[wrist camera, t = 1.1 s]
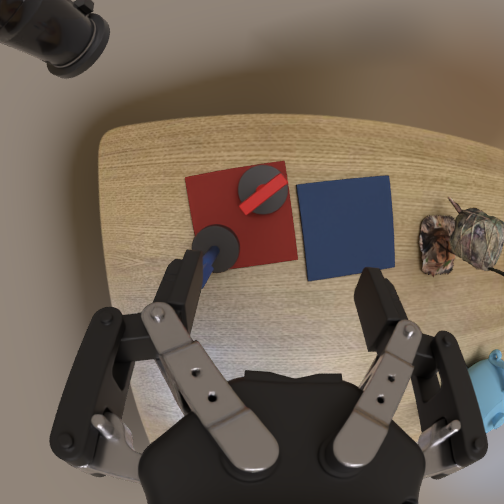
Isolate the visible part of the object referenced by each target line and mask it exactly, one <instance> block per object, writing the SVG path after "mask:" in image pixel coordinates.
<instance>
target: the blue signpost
mask: <svg viewBox="0 0 504 504" xmlns="http://www.w3.org/2000/svg"><path fill="white" fill-rule="evenodd" d="M192 250H197V251H202V254H203V284H202V289H203V288H204V286H205V284H206V282H207V280H208V278H209V277H210V275H211V273H212V272H213V273H220V272H224V271H226V270H228V269H230V268H231V267H232V266H233V265H234V264H235V262H236V261H237V259H238V256H239V252H240V242H239V239H238V237H237V235H236V234H235V232H234V231H233V230H231V229H230V228H229V227H227V226H225V225H221V224H212V225H209V226H207V227H205V228H203V229H202V230H201V231H200V232H198V233H197V235H196V236H195V238H194V240H193V243H192Z"/></svg>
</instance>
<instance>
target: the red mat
mask: <svg viewBox="0 0 504 504" xmlns="http://www.w3.org/2000/svg"><path fill="white" fill-rule="evenodd" d="M258 165H269V166H272V167H274V168H276V169H278V170H279V171H280V172H281V173H282V174H283V175H284V177H285V179H286V180H287V174H286V167H285V161H279V162H272V163H264V164H258ZM254 166H257V165H251V166H245V167H238V168H232V169H226V170H221V171H215V172H210V173H204V174H199V175H194V176H189V177H185V182H186V188H187V194H188V200H189V206H190V211H191V217H192V223H193V228H194V233H195V236H196V235H197V233H198V232H200V231H201V230H202V229H203V228H205V227H207V226H209V225H212V224H221V225H225V226H227V227H229V228H230V229H231V230H233V231H234V232H235V234H236V235H237V237H238V239H239V242H240V252H239V256H238V259H237V261H236V262H235V264H234V265H233V266H232V267H231V268H230V269H234V268H241V267H249V266H256V265H263V264H270V263H277V262H284V261H291V260H298V255H297V247H296V239H295V231H294V223H293V216H292V208H291V201H290V194H289V187H288V195H287V198H286V201H285V202H284V204H283V205H282V206H281V207H280V208H279V209H278V210H277V211H275V212H273V213H270V214H256V213H253V212H251V213H249V214H248V215H245V214H244V213H243V212H242V211H241V209H240V208H239V205H240V204H241V203H242V202H241V200H240V198H239V195H238V184H239V181H240V179H241V177H242V175H243V174H244V173H245V172H246V171H247V170H248V169H250V168H252V167H254ZM287 181H288V180H287ZM287 185H288V184H287Z"/></svg>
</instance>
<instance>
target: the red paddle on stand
mask: <svg viewBox="0 0 504 504" xmlns="http://www.w3.org/2000/svg"><path fill="white" fill-rule="evenodd" d="M287 184H288V181H287V180H286V179H285V177H284V175H283V174H282V173H281V172H280V171H279V170H278V169H276V168H274V167H272V166H269V165H257V166H254V167H252V168H250V169H248V170H247V171H246V172H245V173H244V174H243V175H242V177H241V179H240V181H239V184H238V195H239V198H240V200H241V202H242V203H241V204H240V205H239V208H240V209H241V211H242V212H243V213H244V214H245V215H248V214H249V213H251V212H253V213H256V214H270V213H273V212H275V211H277V210H278V209H279V208H280V207H281V206H282V205H283V204H284V202H285V201H286V198H287V195H288V185H287Z"/></svg>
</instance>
